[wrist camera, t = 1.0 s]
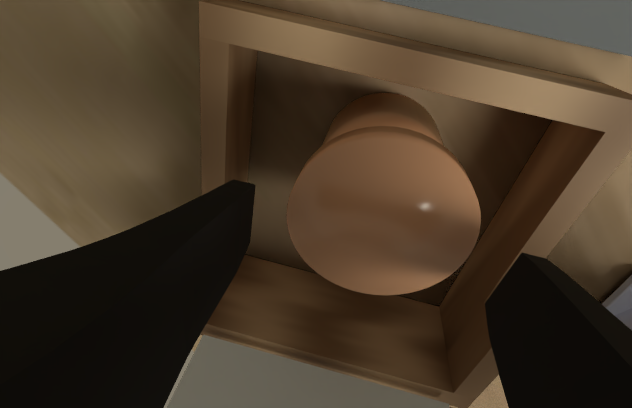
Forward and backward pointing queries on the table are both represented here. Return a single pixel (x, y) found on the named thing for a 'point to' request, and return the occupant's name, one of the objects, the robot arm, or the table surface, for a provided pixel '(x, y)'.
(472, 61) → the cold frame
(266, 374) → the lid
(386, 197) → the pot
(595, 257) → the table surface
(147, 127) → the table surface
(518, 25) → the mat
